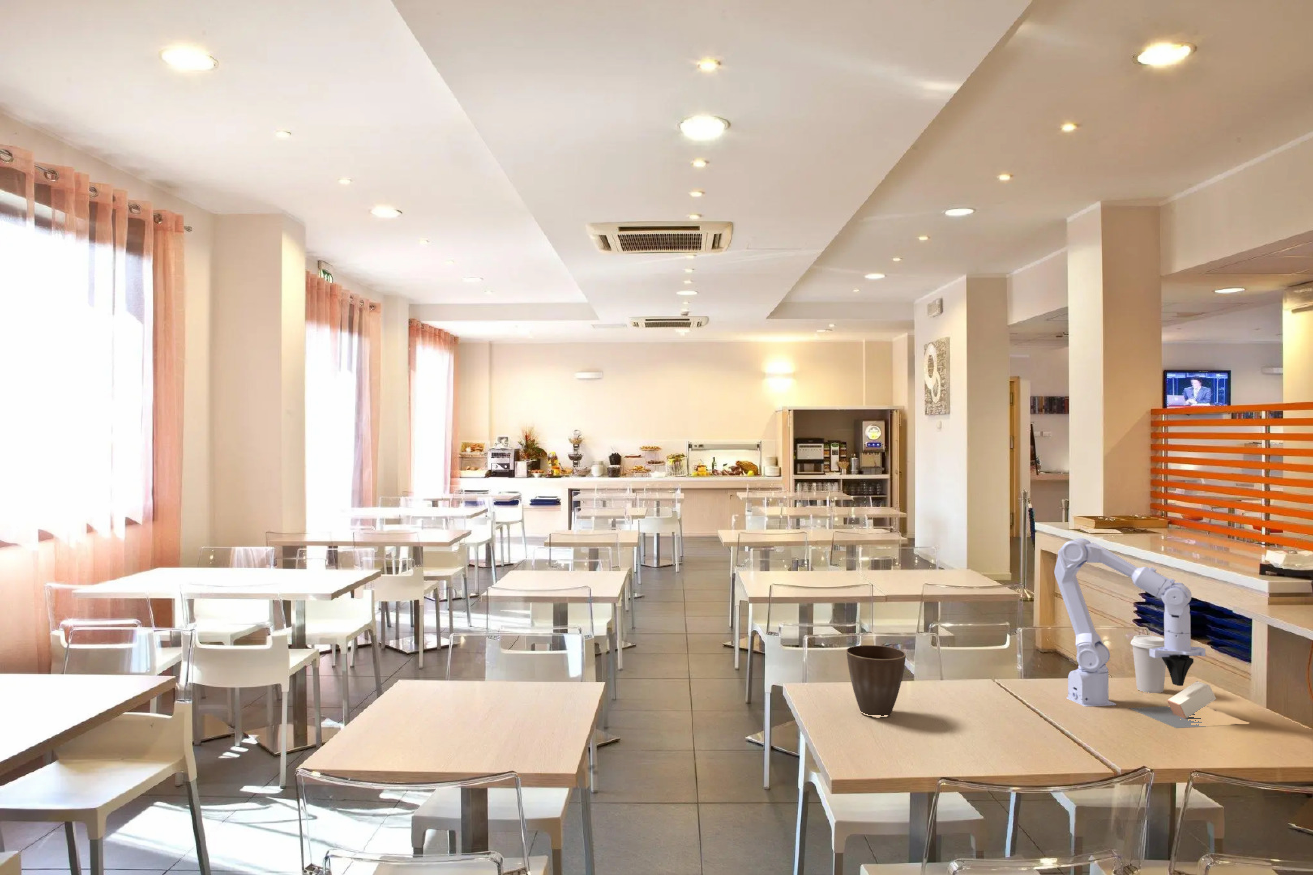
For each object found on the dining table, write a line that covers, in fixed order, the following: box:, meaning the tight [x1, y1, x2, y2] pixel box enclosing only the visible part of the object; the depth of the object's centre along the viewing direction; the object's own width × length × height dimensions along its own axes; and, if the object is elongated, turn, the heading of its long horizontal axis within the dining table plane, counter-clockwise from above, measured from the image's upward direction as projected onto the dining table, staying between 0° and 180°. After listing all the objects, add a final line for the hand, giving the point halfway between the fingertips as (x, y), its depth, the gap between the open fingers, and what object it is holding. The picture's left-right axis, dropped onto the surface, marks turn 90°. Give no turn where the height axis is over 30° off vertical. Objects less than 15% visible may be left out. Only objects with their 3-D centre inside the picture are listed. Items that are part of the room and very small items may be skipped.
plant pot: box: [845, 644, 907, 716], centre depth 212 cm, size 15×15×16 cm
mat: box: [1128, 705, 1206, 729], centre depth 211 cm, size 22×16×1 cm
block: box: [1166, 680, 1217, 719], centre depth 211 cm, size 4×4×10 cm
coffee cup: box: [1130, 634, 1167, 694], centre depth 235 cm, size 10×10×15 cm
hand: (1177, 684), depth 210 cm, fingers closed
